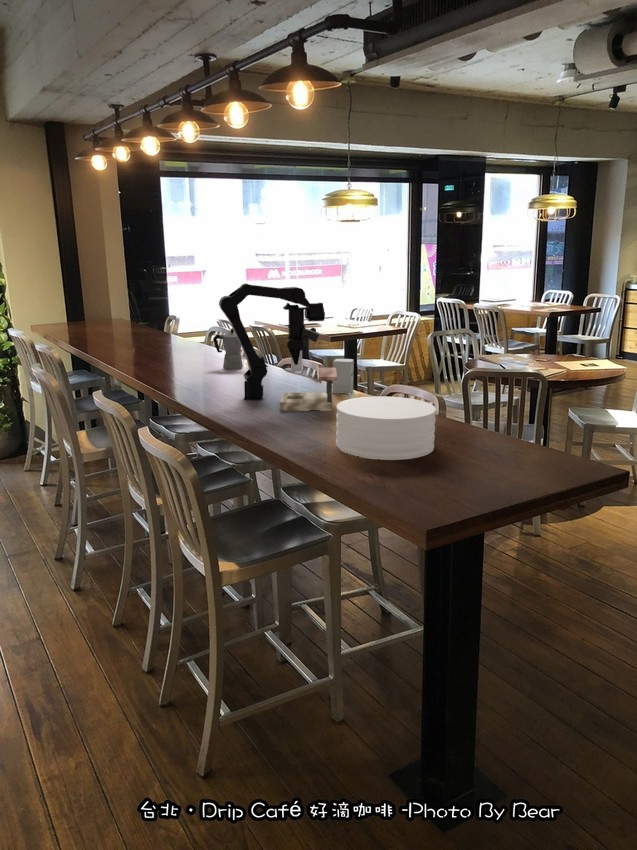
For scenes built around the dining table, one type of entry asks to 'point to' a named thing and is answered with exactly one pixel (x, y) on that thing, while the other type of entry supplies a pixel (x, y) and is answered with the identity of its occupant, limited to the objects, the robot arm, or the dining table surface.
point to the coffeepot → (230, 350)
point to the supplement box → (343, 376)
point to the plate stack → (385, 427)
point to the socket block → (311, 396)
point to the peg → (299, 366)
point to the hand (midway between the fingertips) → (296, 363)
